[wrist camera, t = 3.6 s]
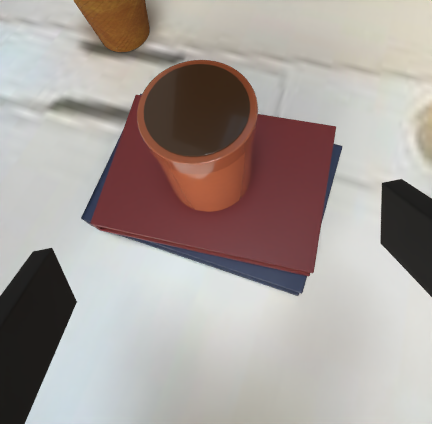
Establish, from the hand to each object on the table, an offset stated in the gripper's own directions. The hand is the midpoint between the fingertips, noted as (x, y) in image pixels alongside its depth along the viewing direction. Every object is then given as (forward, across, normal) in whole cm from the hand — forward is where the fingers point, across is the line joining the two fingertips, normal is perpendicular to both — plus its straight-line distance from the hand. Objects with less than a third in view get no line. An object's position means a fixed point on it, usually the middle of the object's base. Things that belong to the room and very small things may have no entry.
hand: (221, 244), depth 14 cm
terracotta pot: (+19, 0, -4) cm, 19 cm away
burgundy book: (+20, 0, -5) cm, 21 cm away
